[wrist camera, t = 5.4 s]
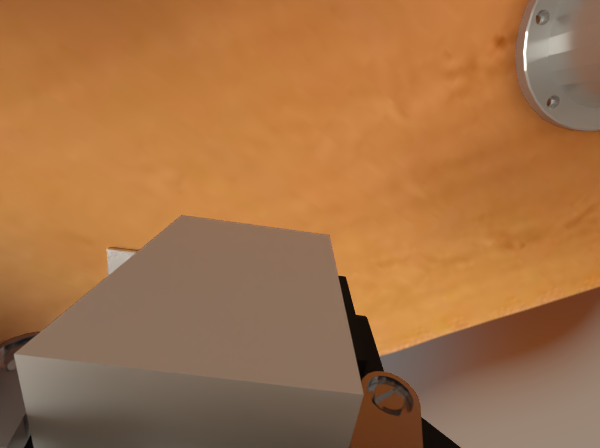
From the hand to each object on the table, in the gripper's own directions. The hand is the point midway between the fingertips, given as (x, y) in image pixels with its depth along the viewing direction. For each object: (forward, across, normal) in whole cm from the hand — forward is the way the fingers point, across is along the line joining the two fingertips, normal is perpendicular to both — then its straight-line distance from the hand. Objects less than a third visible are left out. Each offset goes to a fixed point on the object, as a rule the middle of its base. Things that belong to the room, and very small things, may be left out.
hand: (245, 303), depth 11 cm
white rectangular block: (+1, 0, 0) cm, 1 cm away
